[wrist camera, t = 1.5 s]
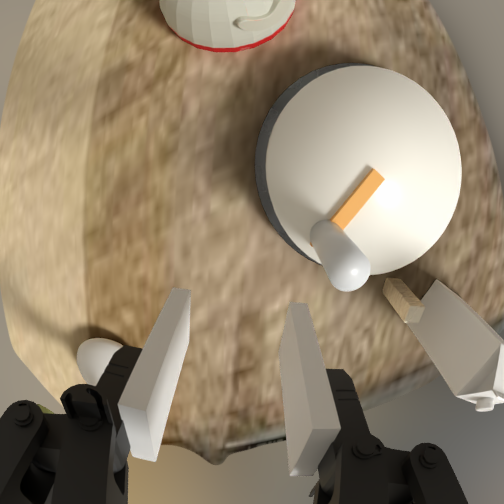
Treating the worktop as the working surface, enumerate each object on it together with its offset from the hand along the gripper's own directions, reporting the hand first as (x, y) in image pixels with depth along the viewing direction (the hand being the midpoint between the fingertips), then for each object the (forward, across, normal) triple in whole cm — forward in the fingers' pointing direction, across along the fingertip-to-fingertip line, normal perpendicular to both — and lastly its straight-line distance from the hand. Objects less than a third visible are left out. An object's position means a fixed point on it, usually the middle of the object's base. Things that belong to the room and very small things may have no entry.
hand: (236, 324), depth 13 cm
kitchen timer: (+21, -5, +24) cm, 32 cm away
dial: (+19, +11, +6) cm, 23 cm away
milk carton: (+21, +27, -10) cm, 35 cm away
